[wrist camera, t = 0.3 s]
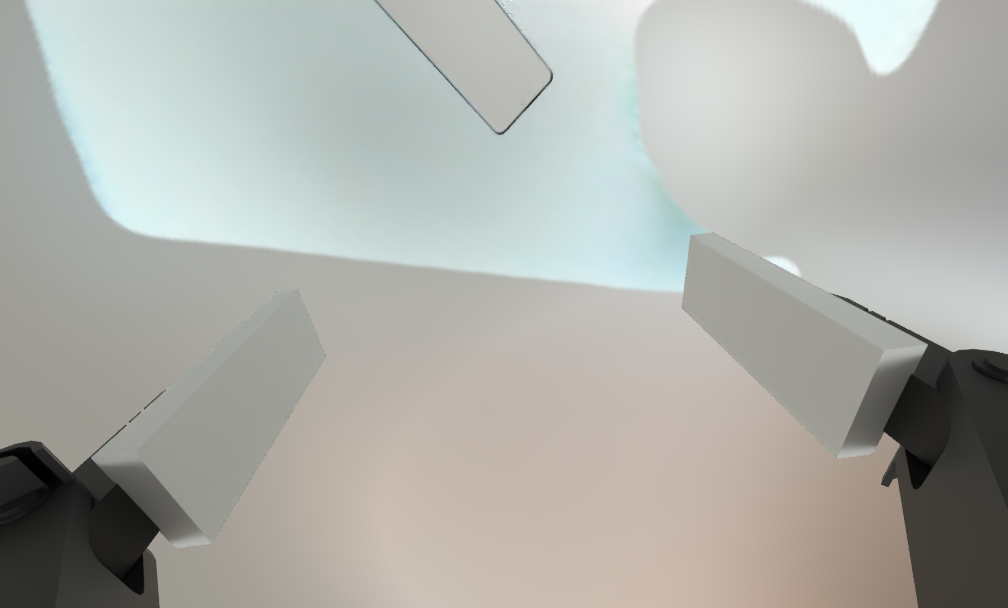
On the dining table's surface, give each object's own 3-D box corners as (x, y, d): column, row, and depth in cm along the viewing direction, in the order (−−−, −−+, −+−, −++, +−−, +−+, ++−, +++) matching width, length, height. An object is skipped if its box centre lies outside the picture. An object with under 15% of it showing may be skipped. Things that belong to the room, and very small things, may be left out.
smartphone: (422, -95, 27) (556, 76, 33) (423, -92, 28) (555, 77, 33) (364, -11, 29) (499, 138, 35) (366, -9, 30) (499, 137, 35)
